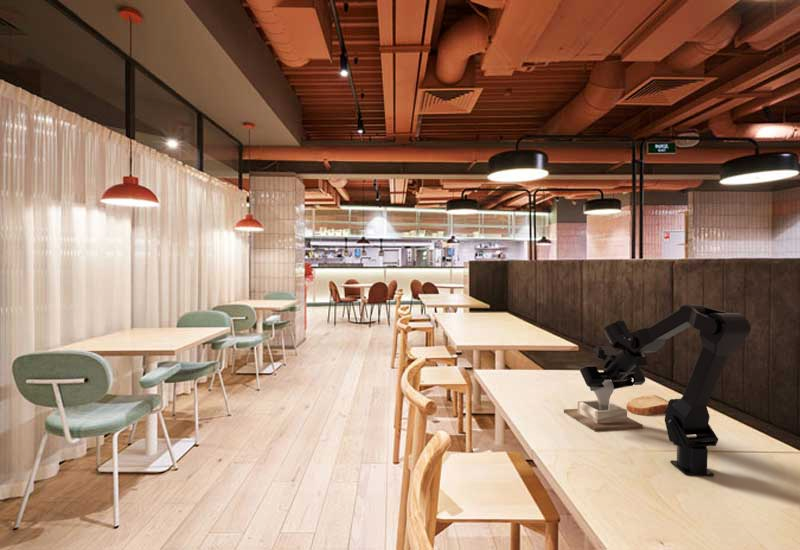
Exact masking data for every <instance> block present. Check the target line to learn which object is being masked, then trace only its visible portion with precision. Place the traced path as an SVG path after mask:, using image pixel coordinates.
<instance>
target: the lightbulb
mask: <svg viewBox="0 0 800 550" xmlns="http://www.w3.org/2000/svg"><path fill="white" fill-rule="evenodd" d="M602 384H603V386H604V387H603V388H600V389H597V390H594V391H593V392H594V394H595V395H596V398H597V400H598V403H599V409H600V410H608V404H609V402H610V399H611V396H612V394H613V392H614V390H615V389H614V386H613V383H612V382H611V380H605V381H604V382H603V383H602Z"/></svg>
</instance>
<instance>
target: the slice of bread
mask: <svg viewBox="0 0 800 550" xmlns="http://www.w3.org/2000/svg"><path fill="white" fill-rule="evenodd" d="M669 401H670V400H667V399H665V398H663V397H660V396H658V395H655V394H652V395H643V396H638V397H635V398H632V400H630V401H628V402H627V404H626V410H627V412H629V413H631V414H633V415H635V416H636V415H637V416H640V417H641V416H655V415H656V416H657V415H662V414H665V413H664V411H665V410H666V409H667V407H668V402H669Z"/></svg>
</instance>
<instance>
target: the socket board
mask: <svg viewBox="0 0 800 550" xmlns="http://www.w3.org/2000/svg"><path fill="white" fill-rule="evenodd" d="M563 413H564V414H565V413H566V415H567V414H568V415H567V416H569V417H570V416H571V417H570V418H571V419H574V420H575V419H576V420H575V421H577V422H579V423H580V424H582V425H584V426H585V427H586V428H588V427H589V428H588V429H590V430H591V431H594V432H603V431H606V432H607V431H618V430H620V431H621V430H632V429H633V430H634V429H644V428H643V427H644V424H642V423H641V422H638V421H636V420H634V419H632V418H630V417H628V410H627V408H623V407H622V406H619V405H617V404H615V403H613V402H611V401H609V404H608V410H600V409H599V403H598V399H597V400H579V401H577V408H569V409H567V408H566V409H565V408H564V409H563Z"/></svg>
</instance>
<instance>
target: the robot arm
mask: <svg viewBox="0 0 800 550" xmlns="http://www.w3.org/2000/svg"><path fill="white" fill-rule="evenodd" d="M690 327H692V328H693V329H695V330H698V331H699V335H698V336H699V338H700V341H701V342H700V343H701V345H702V347H701V350H700V352H699V353H698V354H699V355H698V357H697V359H696V361H695V365H694V367H693V369H692V372H691V375H690V377H689V380H688V382H687V385H686V387H685V390H684V391H683V394H682V397H681V398H670V399H669V400H668V401H669V402H668V407H667V409H666V410H665V411H664V413H663V414H665V415H664V422H665V428H666V432H667V435H668V440H669V442H671V443H672V444H673V445H674V446H676V460H675V459H674V460H670V464H672V465H673V466H674V467H675V468H677V469H678V470H679V471H681V472H682V474H684V475H687V476H707V477H708V476H709V477H713V476H715V473H714V472H713V471H712V470H710V469H708V457H709V456H708V452H709V448H708V447H717V444H718V442H719V438H718V436H717V434H716V433H715V431H714V430H713V428H712V427H711V425H710V424H709V422H710V413H709V409H708V403H709V401H710V399H711V396H712V394H713V393H714V390H715V387H716V385H717V383H718V381H719V378H720V375H721V373H722V372H723V369H724V366H725V364H726V362H727V360H728V357H729V355H730V354H731V353H732V352H734V351H735V350H736V349H738V348H739V347H741V346H742V344H743V343H744V342H745V341H746V339H747V337H748V336H749V334H750V333H751V324H750V323H749V320H748V319H747V317H745V315H743V314H742V313H738V312H726V311H723V310H720V309H719V310H718V309H714V308H710V307H708V306H705V305H702V304H684V305H681V306H680V307H679V309H677V310H676V311H674V312H672V313H670V314H669V315H667V316H665V317H664V318H662V319H660V320H659V321H658V322H656V323H654V324H653V325H650V326H649V327H644V328H639V329H636V330H633V331H630V329H629V328H628V326H627V325H626V323H625V321H624V320H623V319H622V320H620V319H619V320H618V319H617V320H616V321H615V322H612V323H610V324H608V325H606V326H605V327H604V329H603V332H604V334H605V336H606V337H607V339H608V340H609V343H610V344H611V346H610V345H600V346H596V347H595V348H594V349H593V351H592V355H593V356H594V358H595V359H597V360H600V361H601V362H602V363H601V367H602V368H604V369H603V371H599V369H598V367H597V366H596V365H594V364H593V365H583V366H581V368H580V369H579V372H580V374H581V376H582V378H583V380H584V382H585V384H586V386H587V387H589V390H590V392H594V390H597V389H600V388H603V387H604V386H603V384H602V383H603V382H604V381H605V380H611V382H612V383H613V386H614V390H616V389H617V390H619V389H622V388H628V387H633V386H642V385H643V384H645V382H646V377H645V375H644V373H643V371H642V370H641V368H640V367H648V366H649V361H648V360H647V356H646V355H645V354H646V353H656V352H658V351H659V350H660V349H661V348H662V347H664V345H665V342H666V340H668V339H670V338H672V337H674V336H675V335H677V334H679V333H681V332H683V331H684V330H686V329H688V328H690ZM616 349H618V350H619V351H617V350H616ZM644 353H645V354H644ZM693 435H694V436H693Z"/></svg>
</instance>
